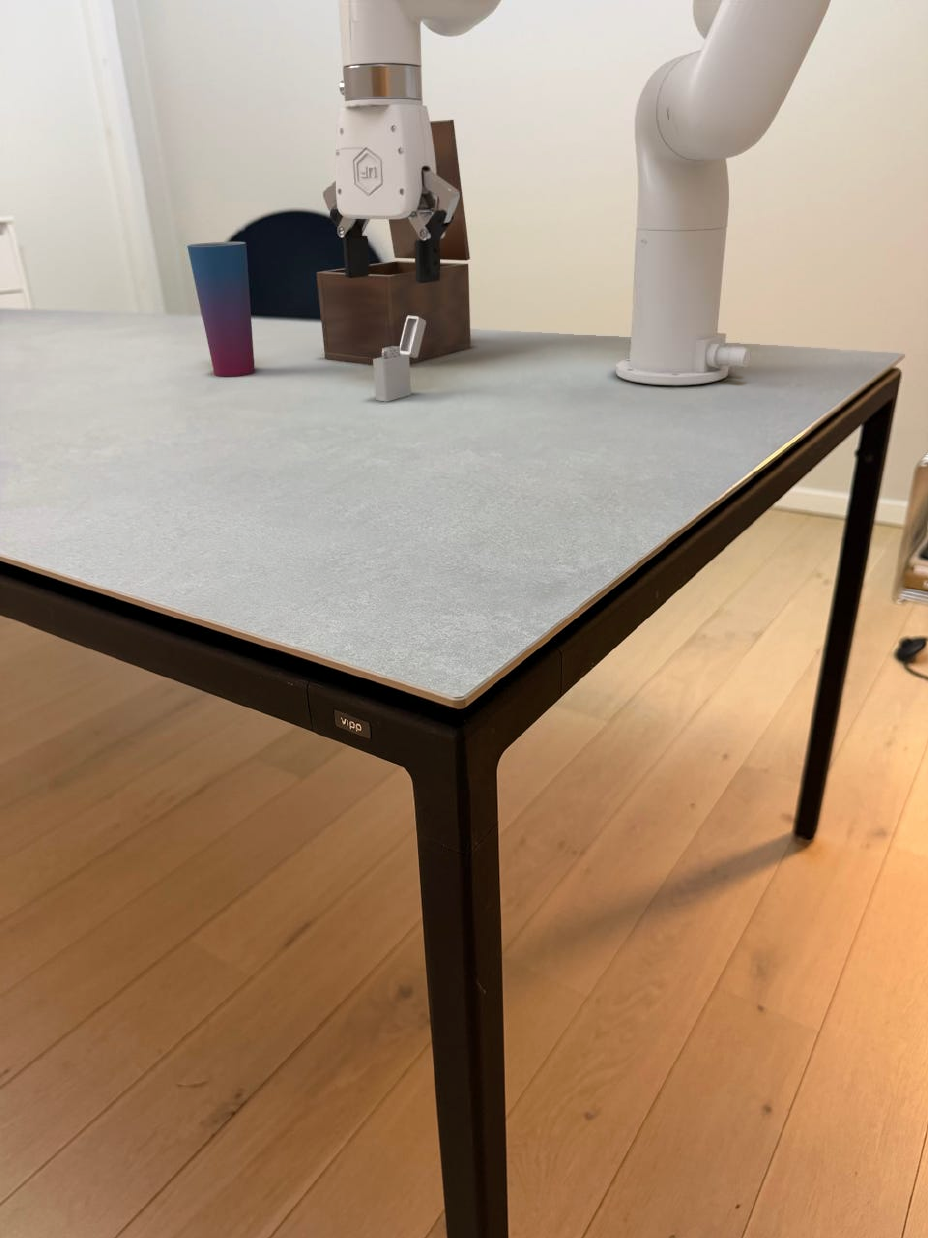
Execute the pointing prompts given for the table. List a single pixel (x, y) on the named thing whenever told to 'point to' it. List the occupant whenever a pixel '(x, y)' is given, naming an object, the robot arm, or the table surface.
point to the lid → (448, 170)
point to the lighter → (398, 362)
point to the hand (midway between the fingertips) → (392, 279)
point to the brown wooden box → (393, 311)
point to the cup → (225, 304)
